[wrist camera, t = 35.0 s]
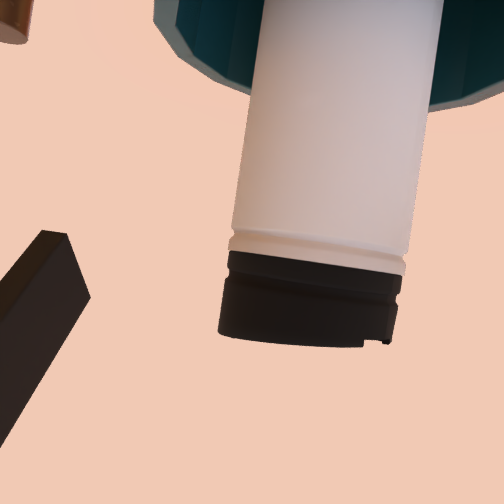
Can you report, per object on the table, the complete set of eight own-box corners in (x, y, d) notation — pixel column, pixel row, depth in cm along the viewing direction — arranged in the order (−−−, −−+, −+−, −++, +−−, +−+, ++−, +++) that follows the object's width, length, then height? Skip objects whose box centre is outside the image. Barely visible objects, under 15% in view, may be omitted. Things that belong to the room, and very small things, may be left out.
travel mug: (252, -211, 17) (171, 335, 17) (434, -348, 13) (328, 390, 12) (340, -97, 22) (278, 331, 21) (495, -167, 17) (419, 369, 17)
